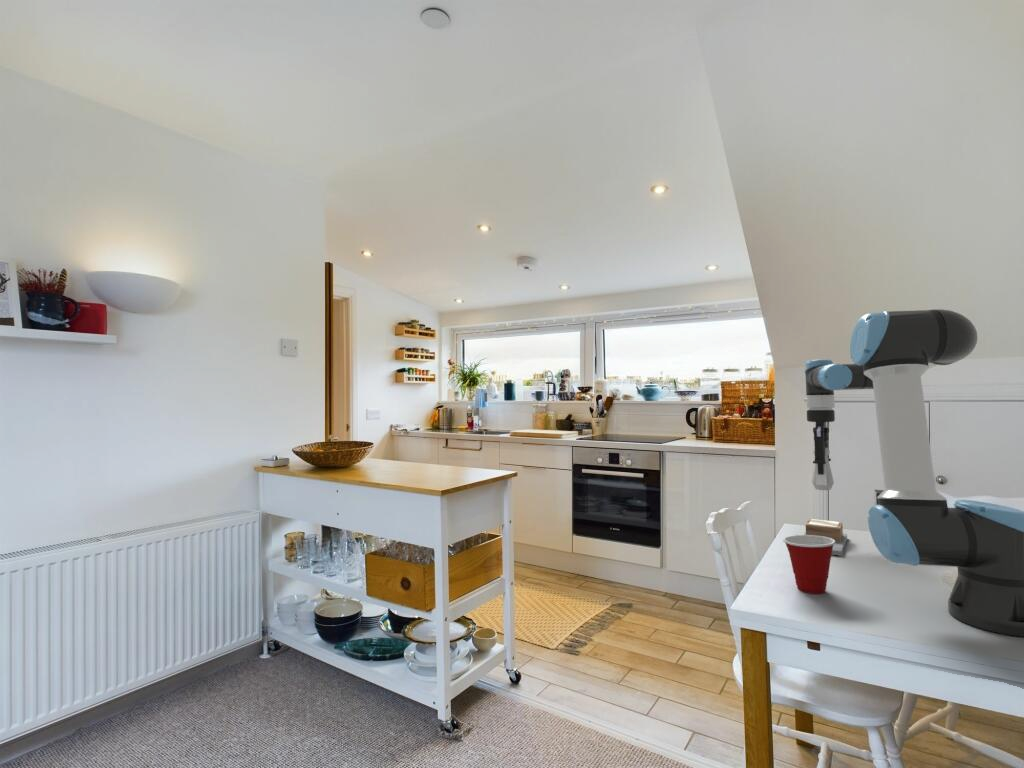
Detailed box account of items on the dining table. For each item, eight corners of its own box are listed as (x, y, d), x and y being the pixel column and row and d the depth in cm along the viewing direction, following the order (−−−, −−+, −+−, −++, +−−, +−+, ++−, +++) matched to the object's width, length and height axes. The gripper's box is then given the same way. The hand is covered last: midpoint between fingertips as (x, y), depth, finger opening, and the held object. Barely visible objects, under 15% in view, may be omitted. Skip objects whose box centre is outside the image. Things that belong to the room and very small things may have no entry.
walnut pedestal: (840, 542, 155) (839, 527, 155) (806, 537, 160) (805, 523, 160) (842, 535, 162) (842, 521, 162) (809, 531, 168) (809, 518, 168)
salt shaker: (828, 487, 164) (826, 446, 165) (837, 490, 159) (836, 448, 159) (808, 487, 165) (807, 446, 165) (817, 490, 159) (816, 448, 159)
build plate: (841, 556, 146) (841, 551, 146) (797, 550, 153) (797, 545, 153) (847, 538, 164) (847, 533, 164) (807, 533, 170) (807, 529, 170)
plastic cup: (792, 578, 130) (791, 529, 130) (842, 588, 122) (841, 537, 123) (777, 589, 122) (775, 538, 123) (829, 602, 115) (827, 547, 115)
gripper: (810, 408, 172) (812, 478, 172) (802, 410, 157) (804, 486, 156) (837, 408, 168) (839, 480, 167) (831, 410, 153) (833, 489, 152)
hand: (822, 483), depth 162 cm, fingers closed on salt shaker, 6 cm apart
